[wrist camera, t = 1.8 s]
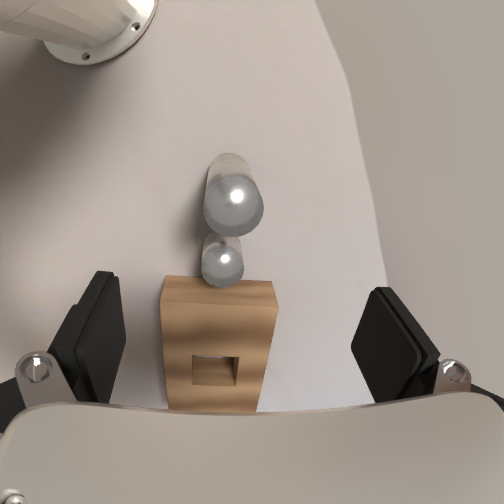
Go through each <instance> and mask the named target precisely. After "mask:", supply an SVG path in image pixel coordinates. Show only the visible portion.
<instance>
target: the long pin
mask: <svg viewBox="0 0 504 504" xmlns="http://www.w3.org/2000/svg"><path fill="white" fill-rule="evenodd" d="M263 210H264V206H263V200H262V197H261V195H260V193H259V190H258V188H257V186H256V183H255V181H254V179H253V177H252V174H251V172H250V170H249V167H248V165H247V163H246V162H245V160H244V159H243V158H242V157H240V156H238V155H236V154H232V153H226V154H222V155H220V156H218V157H216V158H215V159H214V160H213V161H212V163H211V164H210V167H209V171H208V177H207V184H206V191H205V198H204V205H203V213H204V217H205V220H206V222H207V224H208V225H209V226H210V228H212V229H213V230H214V231H215V232H217V233H219V234H221V235H223V236H228V237H238V236H242V235H245V234H247V233H249V232H251V231H252V230H253V229H254V228H255V227H256V226H257V225H258V224H259V222H260V220H261V218H262V216H263Z"/></svg>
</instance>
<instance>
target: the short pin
mask: <svg viewBox="0 0 504 504" xmlns="http://www.w3.org/2000/svg"><path fill="white" fill-rule="evenodd" d="M243 272H244V265H243V259H242V252H241V245H240V241H239V238H238V237H228V236H223V235H221V234H219V233H217V232H215V231H212V232H211V233H209V234H208V235H207V236H206V238H205V240H204V243H203V252H202V263H201V273H202V276H203V278H204V279H205V280H206V282H208V283H209V284H210V285H212V286H215V287H220V288H225V287H230V286H232V285H234V284H236V283H237V282H238V281H239V280H240V279H241V277H242V275H243Z"/></svg>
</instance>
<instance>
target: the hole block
mask: <svg viewBox="0 0 504 504" xmlns="http://www.w3.org/2000/svg"><path fill="white" fill-rule="evenodd" d="M278 308H279V307H278V303H277V299H276V296H275V292H274V289H273V285H272V281H252V280H239V281H238V282H237V283H236V284H234V285H232V286H230V287H225V288H220V287H215V286H212V285H210V284H209V283H208V282H206V280H205V279H204V278H200V277H184V276H169V275H166V278H165V282H164V286H163V290H162V294H161V298H160V315H161V332H162V346H163V358H164V370H165V380H166V390H167V399H168V407H169V410H180V411H198V412H234V413H251V412H256V409H257V405H258V400H259V396H260V392H261V387H262V383H263V378H264V374H265V369H266V365H267V360H268V356H269V351H270V346H271V342H272V337H273V332H274V327H275V322H276V318H277V313H278ZM194 355H200V356H222V357H234V358H233V359H221V358H199V357H194Z"/></svg>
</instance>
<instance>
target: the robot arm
mask: <svg viewBox="0 0 504 504" xmlns="http://www.w3.org/2000/svg"><path fill="white" fill-rule="evenodd" d="M157 4H158V0H0V32H5V33H11V34H16V35H21V36H25V37H30V38H34V39H39V40H43V42H44V44H45V46H46V48H47V49H48V51H49V52H50V53H51V54H52V55H53V56H54V57H56V58H57V59H59V60H61V61H63V62H67V63H70V64H76V65H92V64H96V63H100V62H104V61H106V60H108V59H111V58H113V57H115V56H117V55H118V54H120V53H122V52H124V51H125V50H126V49H127V48H129V47H130V46H131V45H132V44H134V43H135V42H136V41H137V39H138V38H139V37H140V36H141V35H142V34H143V33H144V31H145V30H146V29H147V27H148V26H149V24H150V22H151V20H152V18H153V16H154V14H155V11H156V7H157ZM137 26H140V28H139V29H138V30H136V27H137ZM89 55H90V58H89V59H87V57H88V56H89ZM125 342H126V333H125V326H124V319H123V312H122V304H121V295H120V286H119V278H118V277H117V276H114V274H113V272H107V271H97V272H96V273H95V275H94V277H93V278H92V280H91V282H90V283H89V285H88V287H87V289H86V290H85V292H84V294H83V295H82V297H81V299H80V301H79V302H78V304H77V305H73V306H72V307H71V309H70V310H69V312H68V314H67V316H66V317H65V319H64V321H63V323H62V325H61V326H60V328H59V330H58V332H57V334H56V336H55V338H54V340H53V341H52V343H51V345H50V347H49V349H48V351H47V353H46V352H43V351H36V352H32V353H29V354H27V355H25V356H23V357H22V358H21V359H20V360H19V361H18V363H17V364H16V367H15V376H16V377H14V378H12V379H10V380H8V381H5V382H3V383H1V384H0V504H504V399H503V398H501V397H499V396H497V395H494V394H493V393H490V392H488V391H486V390H484V389H482V388H480V387H478V386H475V385H473V384H471V374H470V372H469V370H468V369H467V367H466V366H464V365H463V364H462V363H461V362H459V361H457V360H454V359H444V360H442V361H441V362H439V361H438V358H439V356H440V352H439V351H438V350H437V348H436V347H435V345H434V344H433V343H432V341H431V340H430V338H429V337H428V336H427V334H426V333H425V332H424V330H423V329H422V328H421V326H420V325H419V323H418V322H417V321H416V320H415V318H414V317H413V316H412V314H411V313H410V312H409V310H408V309H407V308H406V306H405V305H404V304H403V303H402V301H401V300H400V299H399V297H398V296H397V295H396V294H395V292H394V291H393V290H392V289H391V288H390V287H376V288H375V289H374V290H373V291H371V293H370V295H369V298H368V301H367V303H366V306H365V309H364V312H363V314H362V317H361V320H360V322H359V325H358V328H357V330H356V333H355V335H354V338H353V340H352V343H351V350H352V353H353V355H354V357H355V359H356V361H357V364H358V366H359V368H360V370H361V372H362V374H363V377H364V379H365V381H366V383H367V385H368V388H369V390H370V392H371V394H372V396H373V399H374V401H375V403H374V404H366V405H359V406H350V407H341V408H330V409H319V410H305V411H288V412H251V413H234V412H198V411H180V410H167V409H154V408H143V407H133V406H124V405H116V404H109V401H110V397H111V393H112V389H113V385H114V382H115V378H116V374H117V371H118V367H119V364H120V360H121V357H122V353H123V350H124V346H125Z"/></svg>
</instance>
